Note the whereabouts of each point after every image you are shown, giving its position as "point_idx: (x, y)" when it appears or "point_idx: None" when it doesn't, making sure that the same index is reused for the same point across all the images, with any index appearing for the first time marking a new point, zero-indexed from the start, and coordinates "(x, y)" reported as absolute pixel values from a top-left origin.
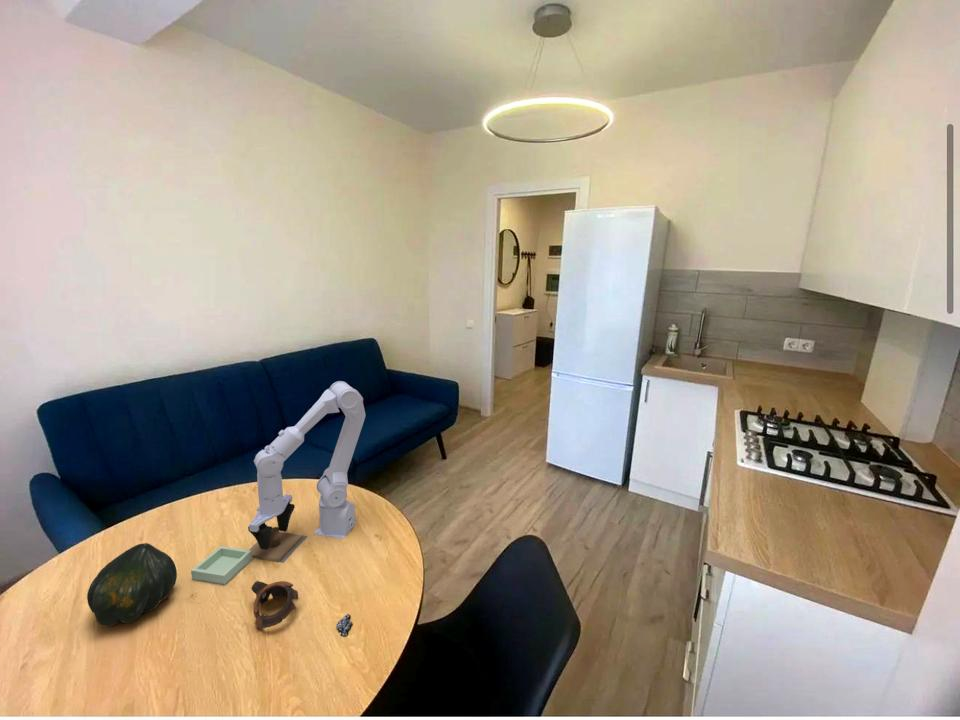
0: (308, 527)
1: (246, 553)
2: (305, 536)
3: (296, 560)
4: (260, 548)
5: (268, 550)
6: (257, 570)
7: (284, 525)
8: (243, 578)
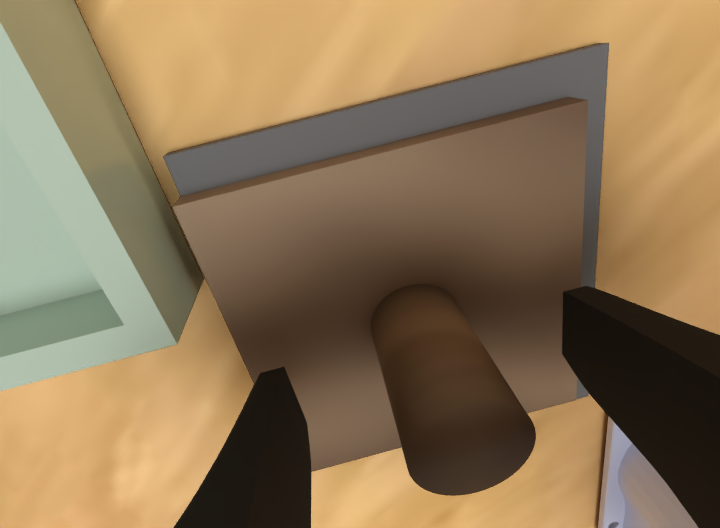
0: (694, 306)
1: (114, 338)
2: (580, 386)
3: (366, 487)
4: (256, 381)
5: (329, 345)
6: (164, 393)
7: (611, 393)
8: (47, 386)
